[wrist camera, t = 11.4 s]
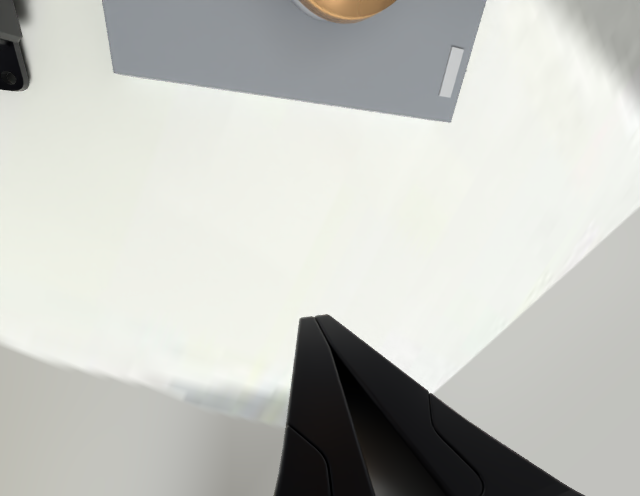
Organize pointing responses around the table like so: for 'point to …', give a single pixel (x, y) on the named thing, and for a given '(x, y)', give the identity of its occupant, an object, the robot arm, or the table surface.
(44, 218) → the table surface
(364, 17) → the crank handle
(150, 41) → the base
